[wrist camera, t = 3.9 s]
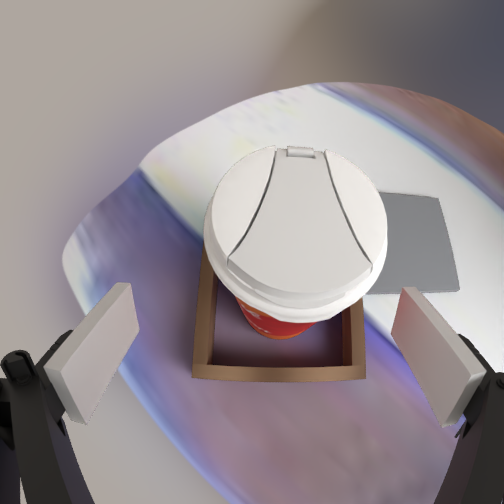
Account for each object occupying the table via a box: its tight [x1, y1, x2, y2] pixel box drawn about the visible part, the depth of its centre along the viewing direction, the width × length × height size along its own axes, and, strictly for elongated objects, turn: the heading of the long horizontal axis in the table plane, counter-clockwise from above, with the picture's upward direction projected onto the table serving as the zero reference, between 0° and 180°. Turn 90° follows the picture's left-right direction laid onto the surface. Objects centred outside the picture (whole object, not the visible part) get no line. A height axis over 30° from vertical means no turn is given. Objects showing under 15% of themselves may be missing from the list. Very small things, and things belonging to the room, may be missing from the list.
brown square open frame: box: [192, 242, 366, 382], centre depth 23 cm, size 12×12×2 cm
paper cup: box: [203, 146, 387, 339], centre depth 17 cm, size 8×8×14 cm
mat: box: [366, 192, 460, 294], centre depth 26 cm, size 10×10×1 cm
